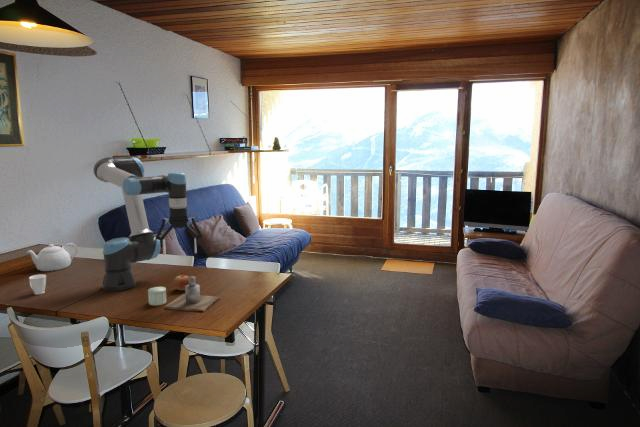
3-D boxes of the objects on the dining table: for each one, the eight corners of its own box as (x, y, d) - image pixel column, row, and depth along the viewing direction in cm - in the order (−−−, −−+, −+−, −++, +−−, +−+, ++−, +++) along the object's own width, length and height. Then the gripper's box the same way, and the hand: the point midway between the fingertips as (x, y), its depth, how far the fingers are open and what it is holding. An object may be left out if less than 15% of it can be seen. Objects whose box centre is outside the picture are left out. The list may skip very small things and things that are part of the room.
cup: (35, 296, 201) (34, 279, 200) (23, 293, 206) (21, 276, 204) (51, 291, 207) (49, 275, 206) (38, 288, 212) (37, 272, 211)
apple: (173, 288, 212) (172, 272, 211) (190, 286, 216) (189, 270, 214) (174, 293, 205) (173, 277, 204) (192, 291, 208) (191, 274, 207)
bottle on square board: (164, 308, 186) (162, 281, 184) (183, 296, 202) (182, 270, 200) (203, 311, 182) (202, 284, 180) (220, 298, 198) (219, 273, 196)
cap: (145, 304, 191) (144, 291, 190) (155, 298, 198) (154, 286, 197) (160, 306, 189) (159, 292, 188) (169, 300, 196) (169, 287, 195)
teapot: (60, 272, 239) (58, 248, 237) (27, 272, 239) (24, 247, 237) (79, 263, 258) (77, 240, 256) (48, 263, 258) (46, 240, 256)
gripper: (147, 209, 189) (150, 257, 192) (206, 207, 195) (208, 253, 198) (149, 206, 196) (152, 252, 200) (207, 205, 202) (208, 250, 206)
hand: (180, 253), depth 199 cm, fingers open, 13 cm apart
